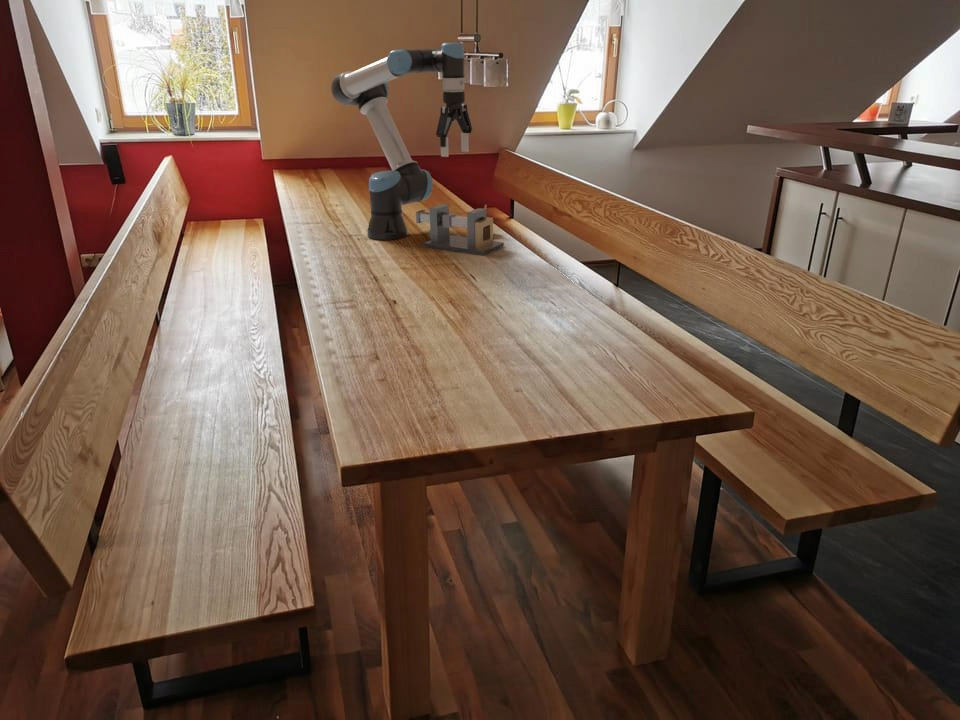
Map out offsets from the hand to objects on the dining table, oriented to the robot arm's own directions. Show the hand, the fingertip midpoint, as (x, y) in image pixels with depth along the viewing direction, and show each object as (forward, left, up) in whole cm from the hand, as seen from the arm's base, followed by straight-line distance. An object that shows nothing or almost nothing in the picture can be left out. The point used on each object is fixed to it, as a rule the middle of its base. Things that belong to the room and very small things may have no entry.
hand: (455, 154), depth 269 cm
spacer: (+17, -9, -25) cm, 31 cm away
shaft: (+2, -9, -24) cm, 26 cm away
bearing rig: (+8, -9, -31) cm, 33 cm away
